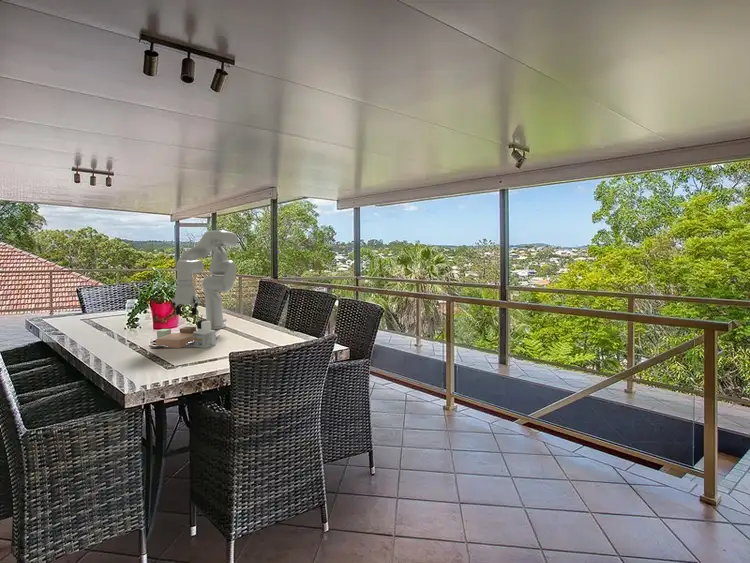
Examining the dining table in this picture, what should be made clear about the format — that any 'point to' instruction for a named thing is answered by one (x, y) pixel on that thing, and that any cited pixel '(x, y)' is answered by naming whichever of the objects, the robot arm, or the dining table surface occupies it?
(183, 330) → the walnut block
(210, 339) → the container
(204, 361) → the dining table surface
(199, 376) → the dining table surface
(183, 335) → the plinth
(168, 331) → the sage block
